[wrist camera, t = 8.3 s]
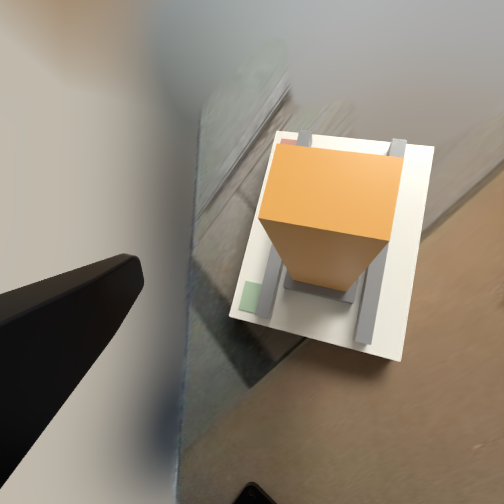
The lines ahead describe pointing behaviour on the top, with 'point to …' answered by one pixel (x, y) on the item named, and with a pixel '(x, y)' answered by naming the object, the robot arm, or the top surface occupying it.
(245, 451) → the top surface
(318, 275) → the handle
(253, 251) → the plate
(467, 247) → the top surface
